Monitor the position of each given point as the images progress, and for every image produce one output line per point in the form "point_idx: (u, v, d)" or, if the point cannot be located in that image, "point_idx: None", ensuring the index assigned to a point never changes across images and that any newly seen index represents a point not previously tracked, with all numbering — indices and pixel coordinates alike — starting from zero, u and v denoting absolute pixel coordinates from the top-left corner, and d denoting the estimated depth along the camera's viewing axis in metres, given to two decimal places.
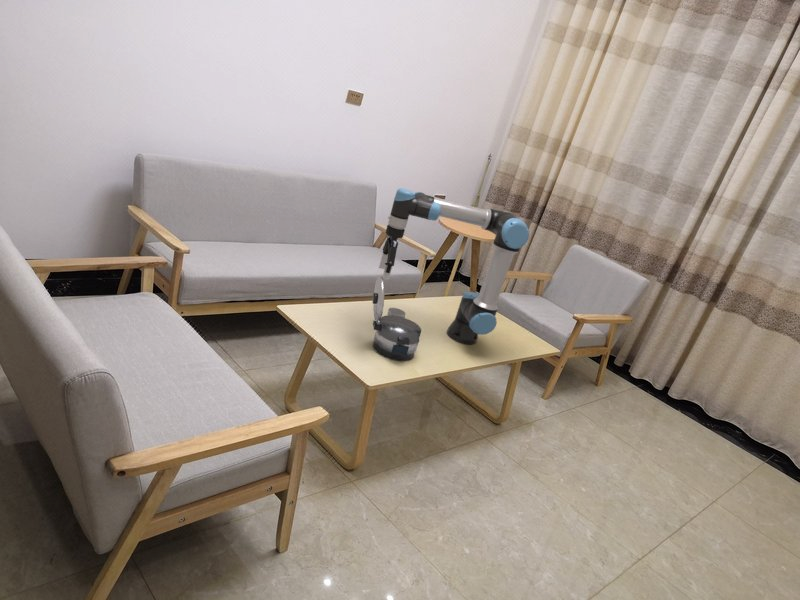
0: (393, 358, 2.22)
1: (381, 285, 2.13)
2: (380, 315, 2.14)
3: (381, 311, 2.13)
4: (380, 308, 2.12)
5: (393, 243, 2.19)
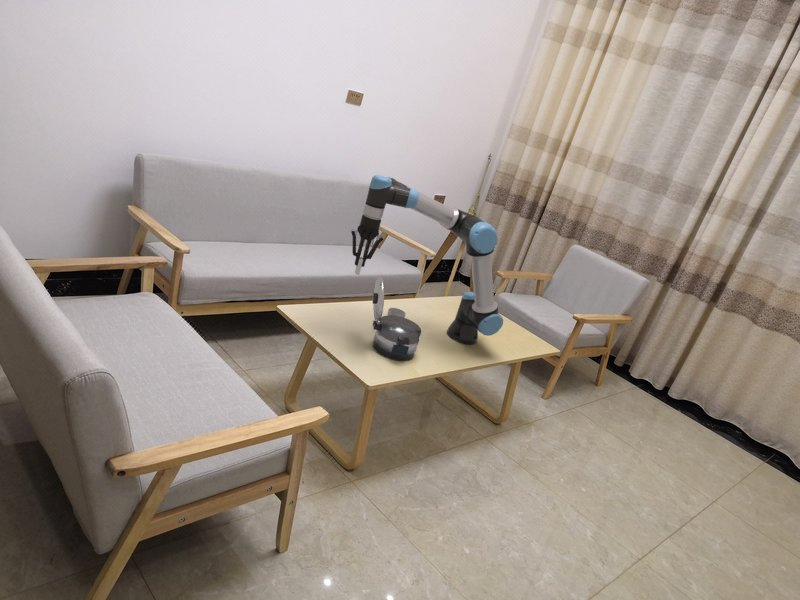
0: (393, 358, 2.22)
1: (381, 285, 2.13)
2: (380, 315, 2.14)
3: (381, 311, 2.13)
4: (380, 308, 2.12)
5: (351, 232, 2.08)
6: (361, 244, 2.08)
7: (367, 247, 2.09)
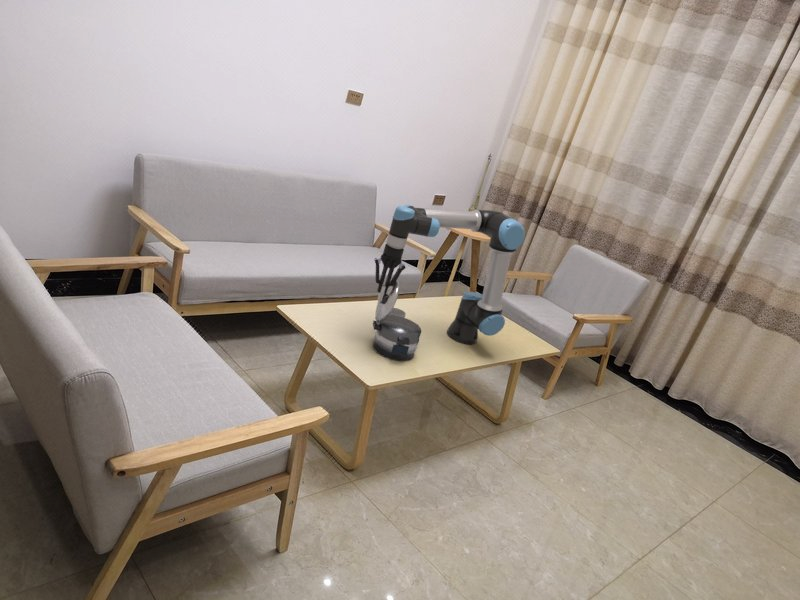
0: (393, 358, 2.22)
1: (397, 288, 2.14)
2: (385, 316, 2.15)
3: (388, 312, 2.13)
4: (389, 309, 2.13)
5: None
6: (384, 272, 2.15)
7: (390, 275, 2.15)
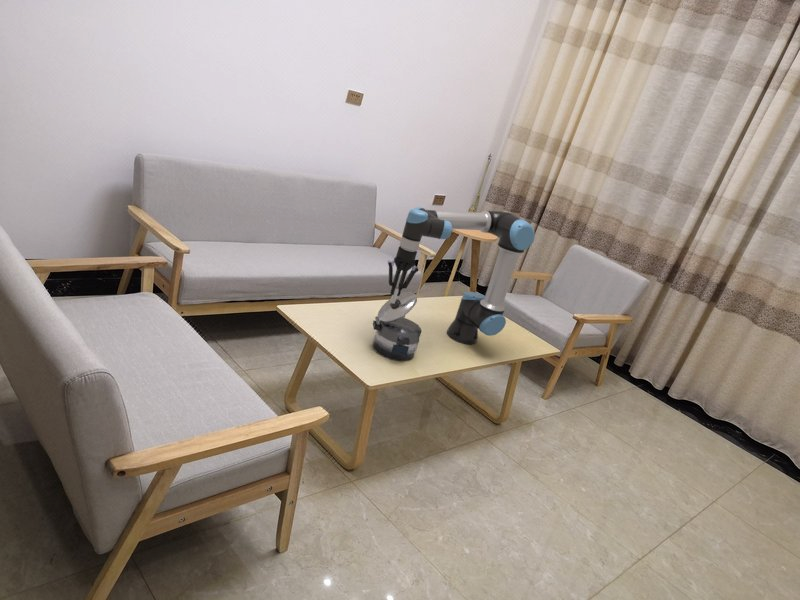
0: (393, 358, 2.22)
1: (414, 301, 2.18)
2: (392, 320, 2.16)
3: (397, 318, 2.15)
4: (399, 315, 2.14)
5: (388, 263, 2.15)
6: (397, 275, 2.16)
7: (403, 277, 2.17)
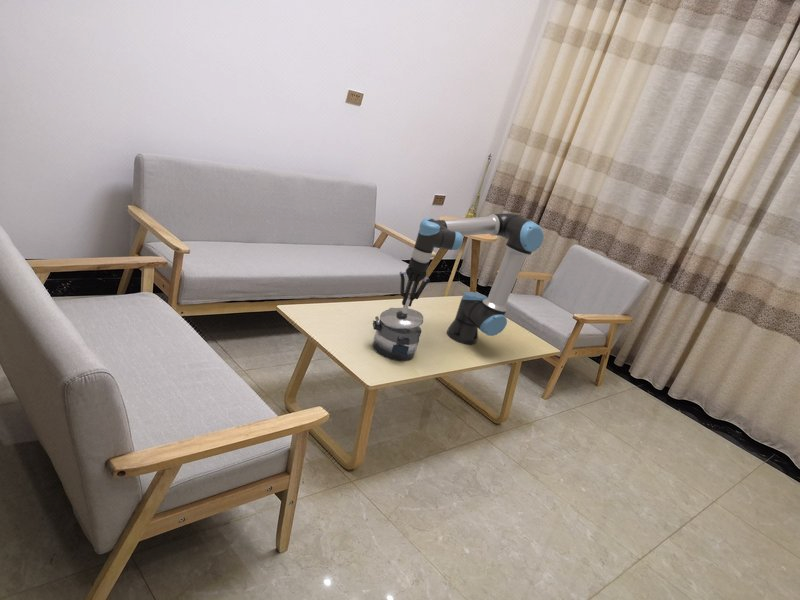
0: (393, 358, 2.22)
1: (421, 321, 2.22)
2: (395, 327, 2.17)
3: (400, 328, 2.17)
4: (404, 327, 2.17)
5: (400, 274, 2.18)
6: (409, 285, 2.18)
7: (414, 288, 2.19)
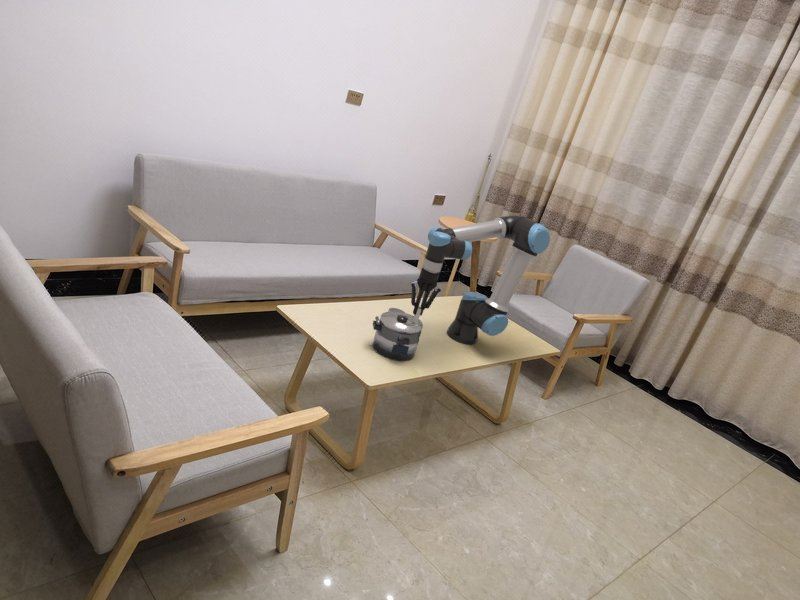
0: (393, 358, 2.22)
1: (421, 328, 2.23)
2: (395, 329, 2.18)
3: (400, 331, 2.17)
4: (404, 330, 2.17)
5: (411, 284, 2.20)
6: (420, 295, 2.21)
7: (425, 298, 2.22)
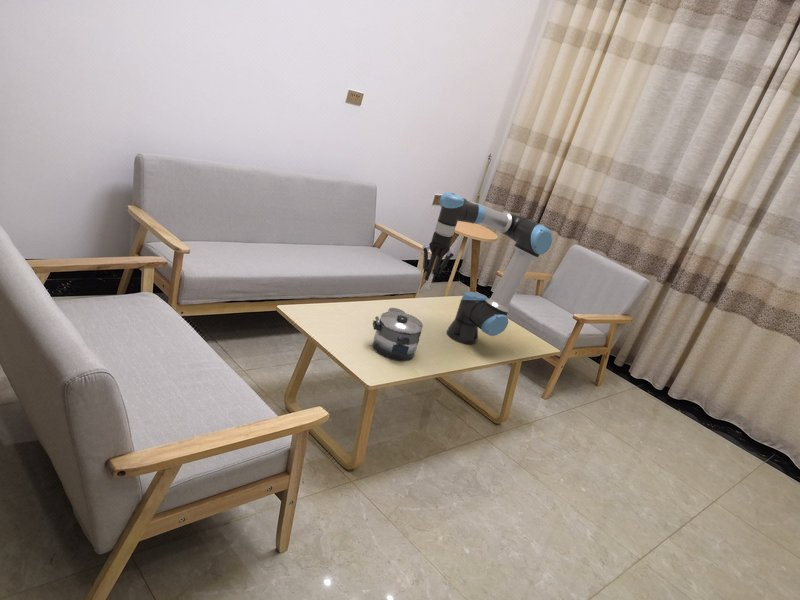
0: (393, 358, 2.22)
1: (421, 328, 2.23)
2: (395, 330, 2.18)
3: (400, 331, 2.17)
4: (404, 331, 2.17)
5: (423, 248, 2.15)
6: (432, 260, 2.16)
7: (438, 263, 2.17)
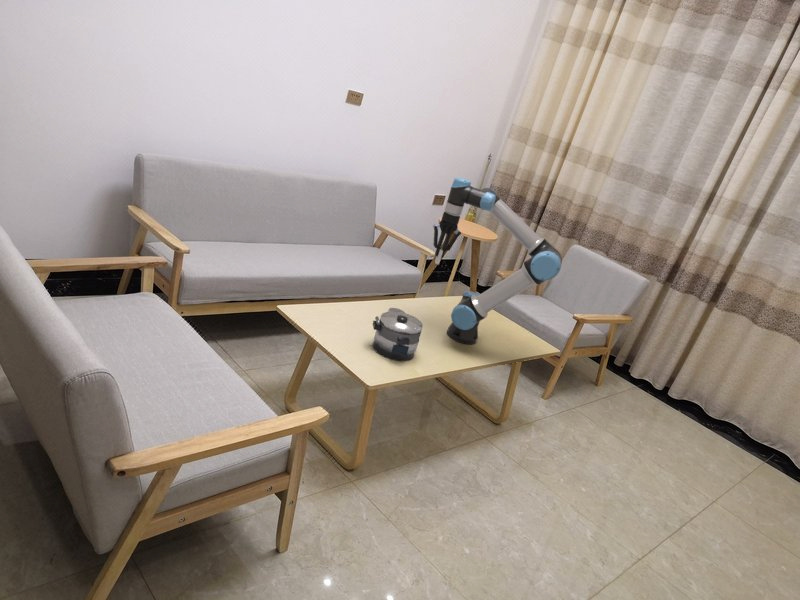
0: (393, 358, 2.22)
1: (421, 328, 2.23)
2: (395, 330, 2.18)
3: (400, 331, 2.17)
4: (404, 331, 2.17)
5: None
6: (442, 237, 2.39)
7: (447, 240, 2.40)
